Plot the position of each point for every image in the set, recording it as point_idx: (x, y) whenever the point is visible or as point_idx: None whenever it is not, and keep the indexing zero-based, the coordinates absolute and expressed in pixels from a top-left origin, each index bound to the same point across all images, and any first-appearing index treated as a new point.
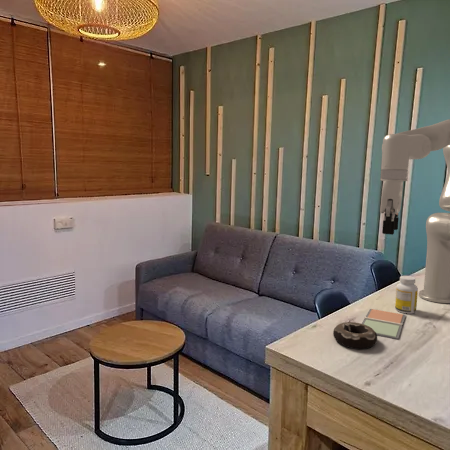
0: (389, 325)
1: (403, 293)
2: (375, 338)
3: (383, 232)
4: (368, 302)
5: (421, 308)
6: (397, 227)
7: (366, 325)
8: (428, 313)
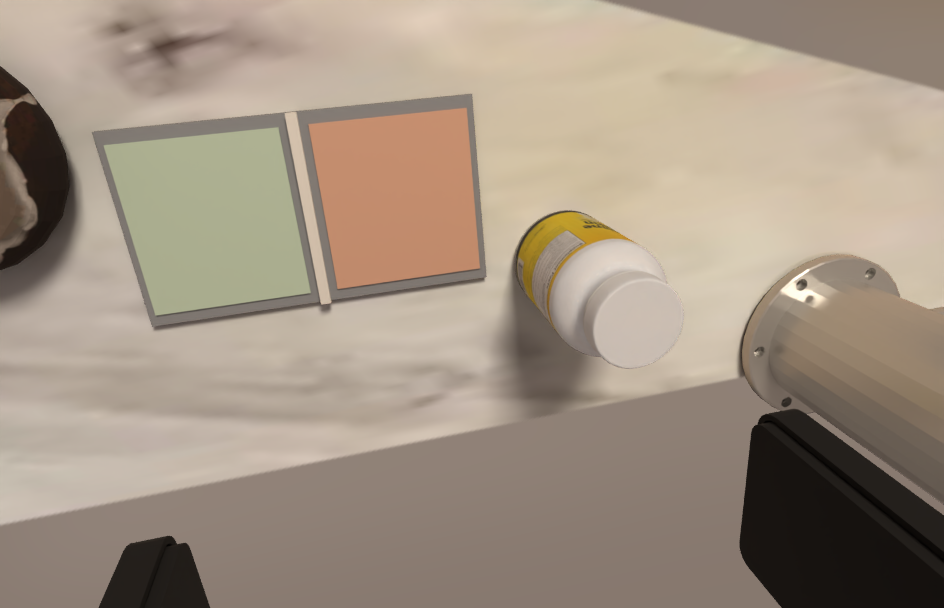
0: (279, 253)
1: (544, 289)
2: None
3: (127, 573)
4: (591, 48)
5: None
6: (772, 584)
7: (12, 207)
8: None
